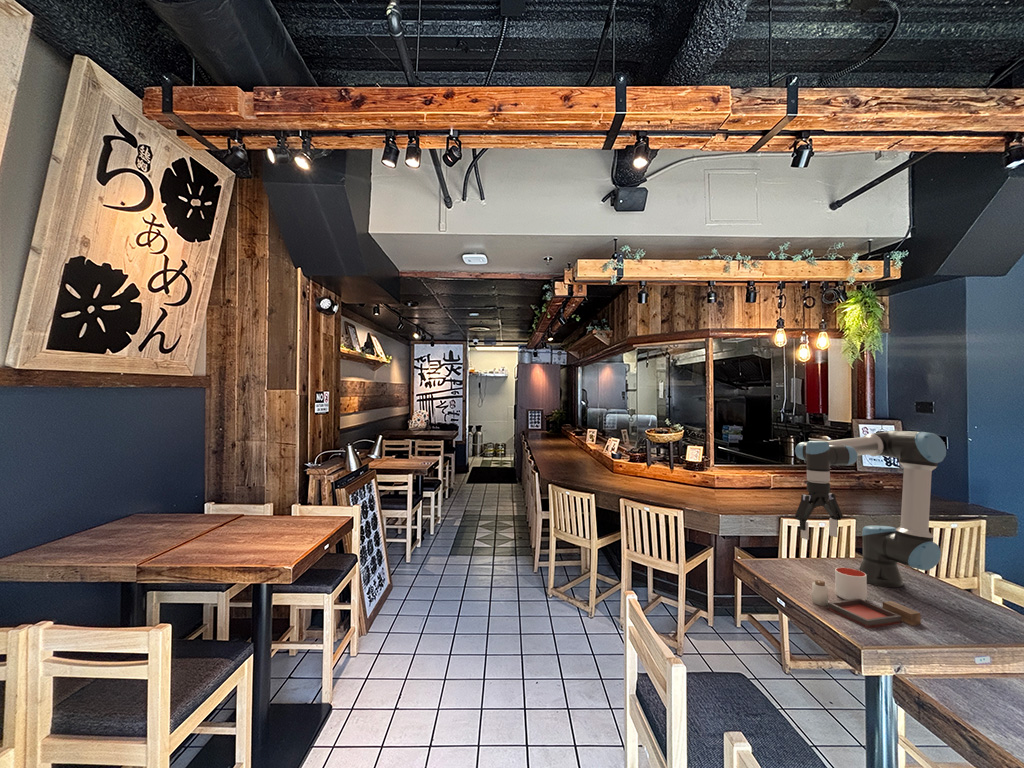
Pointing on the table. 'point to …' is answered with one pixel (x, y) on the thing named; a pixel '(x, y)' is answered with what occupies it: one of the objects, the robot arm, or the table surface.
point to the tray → (864, 613)
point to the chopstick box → (903, 612)
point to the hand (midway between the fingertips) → (819, 537)
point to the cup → (850, 584)
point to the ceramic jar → (820, 593)
